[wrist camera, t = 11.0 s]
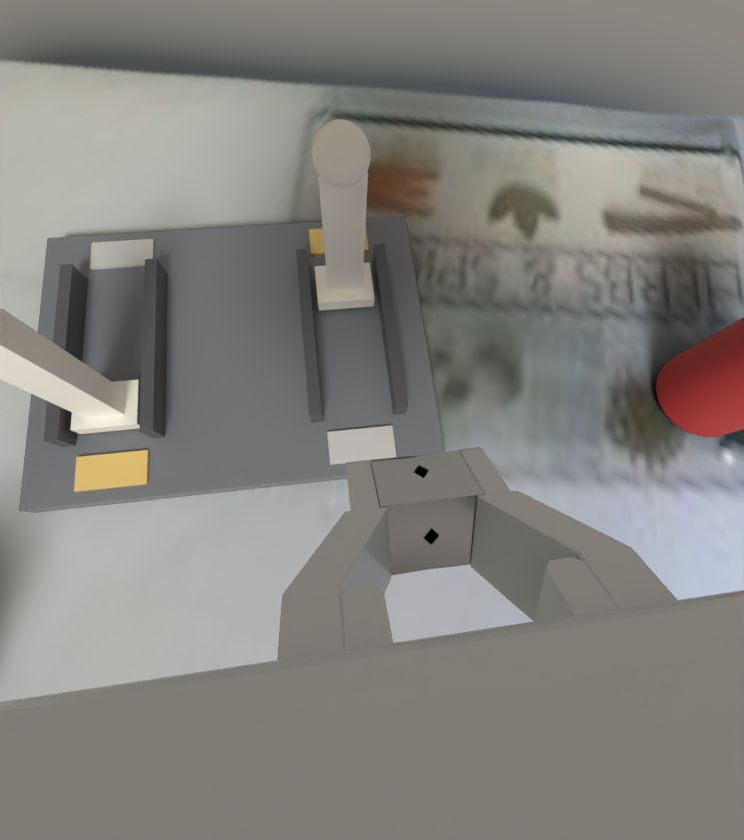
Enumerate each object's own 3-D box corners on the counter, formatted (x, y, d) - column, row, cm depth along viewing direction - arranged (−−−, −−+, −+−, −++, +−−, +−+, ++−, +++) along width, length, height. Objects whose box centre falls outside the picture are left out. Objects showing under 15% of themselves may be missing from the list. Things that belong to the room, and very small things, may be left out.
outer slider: (318, 310, 31) (298, 156, 18) (315, 274, 31) (293, 103, 19) (373, 306, 31) (389, 151, 19) (369, 271, 32) (381, 100, 19)
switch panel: (36, 512, 28) (-5, 508, 24) (60, 251, 33) (30, 220, 30) (441, 468, 30) (452, 459, 27) (403, 229, 35) (408, 198, 32)
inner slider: (80, 434, 27) (-140, 346, 15) (83, 390, 28) (-124, 273, 16) (144, 427, 28) (-20, 337, 15) (145, 385, 28) (-10, 266, 16)
